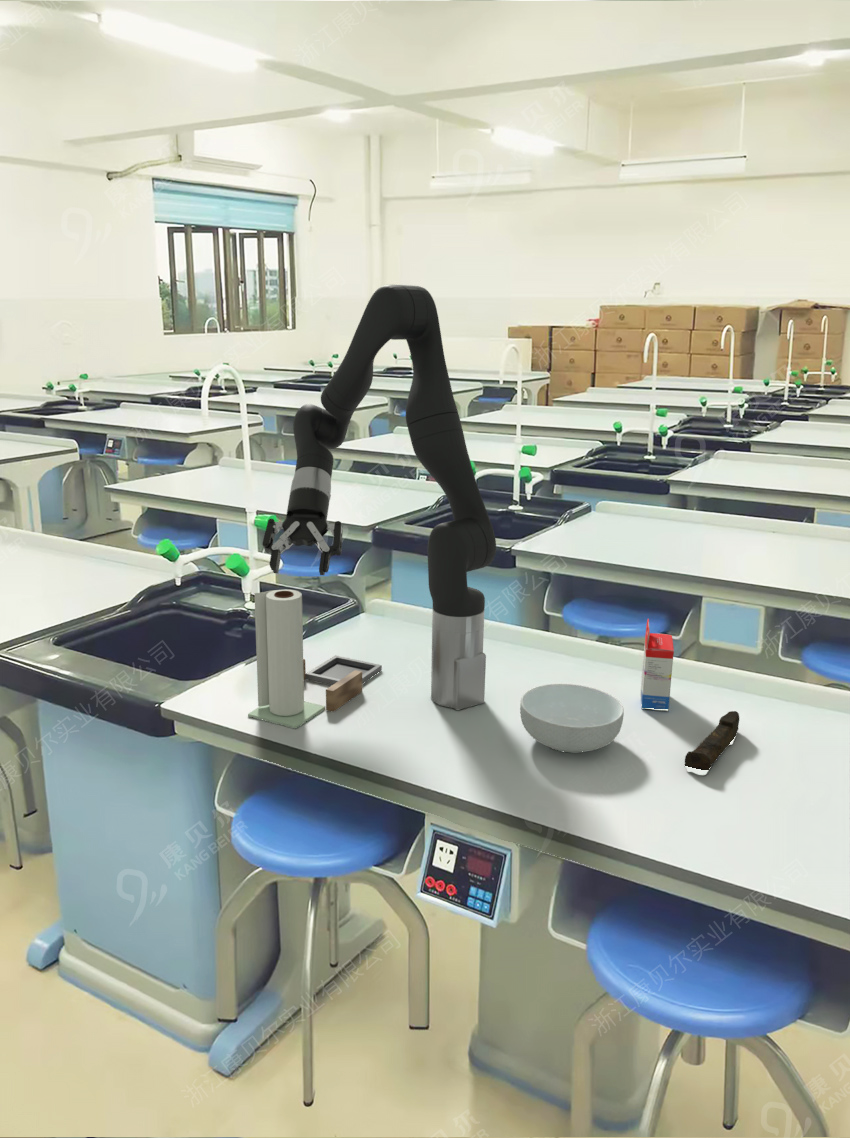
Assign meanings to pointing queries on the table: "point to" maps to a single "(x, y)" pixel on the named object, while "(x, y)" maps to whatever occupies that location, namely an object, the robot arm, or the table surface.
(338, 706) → the walnut guide channel
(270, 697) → the paper towel roll
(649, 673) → the ink box
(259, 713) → the sage pad
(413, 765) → the table surface
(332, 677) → the gray square tray
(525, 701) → the cereal bowl
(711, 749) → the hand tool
